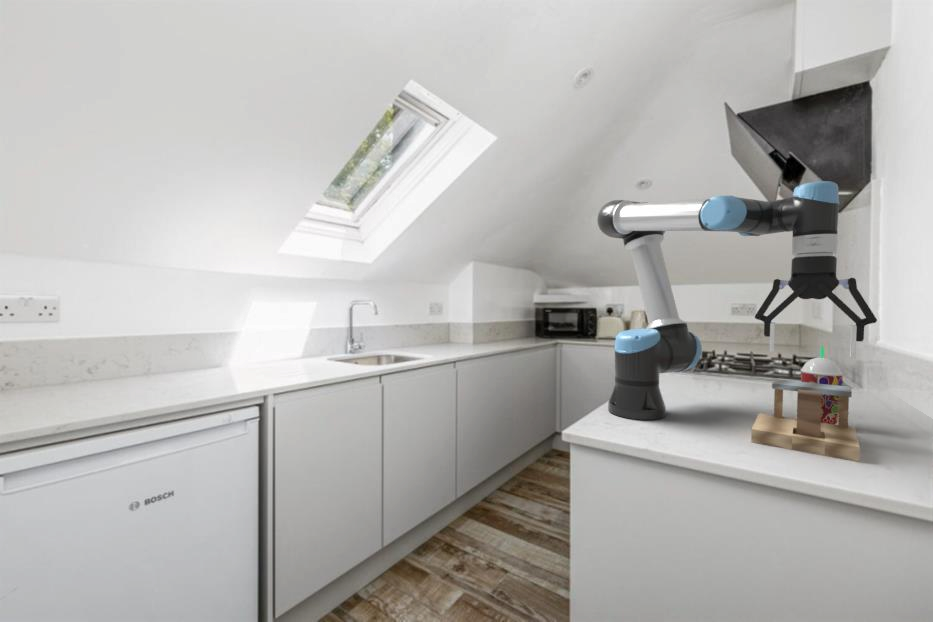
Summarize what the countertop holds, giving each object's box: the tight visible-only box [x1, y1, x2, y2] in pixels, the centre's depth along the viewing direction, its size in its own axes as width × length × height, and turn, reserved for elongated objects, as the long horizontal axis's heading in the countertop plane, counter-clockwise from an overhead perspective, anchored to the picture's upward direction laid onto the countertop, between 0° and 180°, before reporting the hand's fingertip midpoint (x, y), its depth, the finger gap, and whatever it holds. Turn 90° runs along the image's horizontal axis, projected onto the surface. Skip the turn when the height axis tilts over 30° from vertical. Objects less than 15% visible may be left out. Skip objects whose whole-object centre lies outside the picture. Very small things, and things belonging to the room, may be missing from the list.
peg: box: [796, 390, 822, 438], centre depth 93 cm, size 4×4×12 cm
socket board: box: [750, 378, 861, 463], centre depth 96 cm, size 18×16×12 cm
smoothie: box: [800, 346, 844, 425], centre depth 108 cm, size 8×8×20 cm
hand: (810, 354), depth 92 cm, fingers open, 13 cm apart
